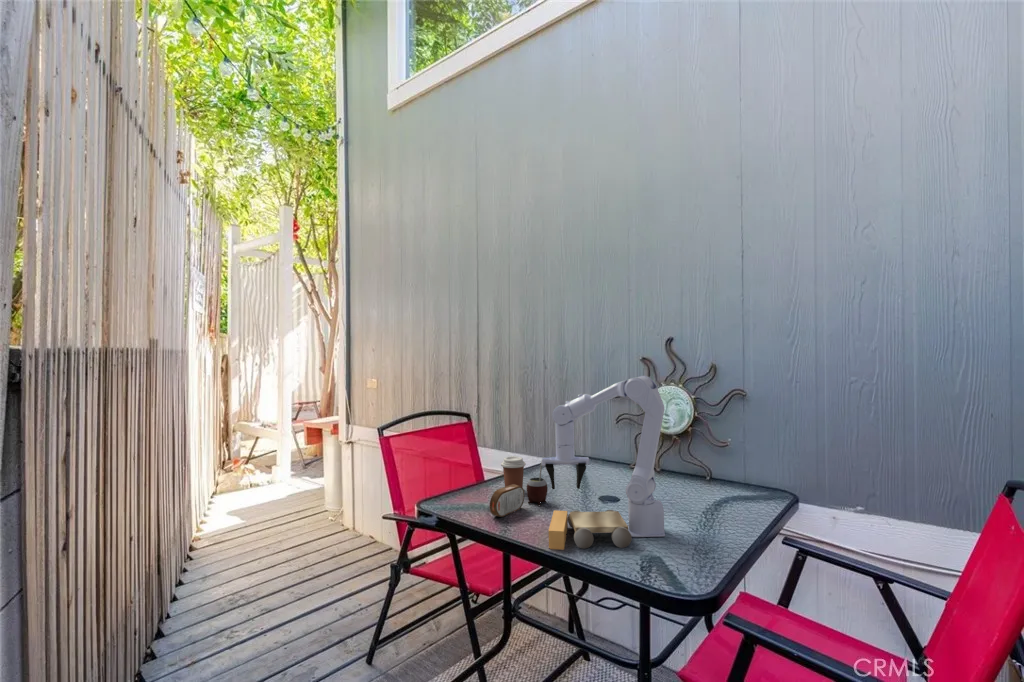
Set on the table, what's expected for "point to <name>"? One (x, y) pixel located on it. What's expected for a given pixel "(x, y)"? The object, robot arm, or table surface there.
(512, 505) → the tin
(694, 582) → the table surface
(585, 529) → the trolley
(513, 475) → the coffee cup
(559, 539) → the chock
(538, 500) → the mate gourd
